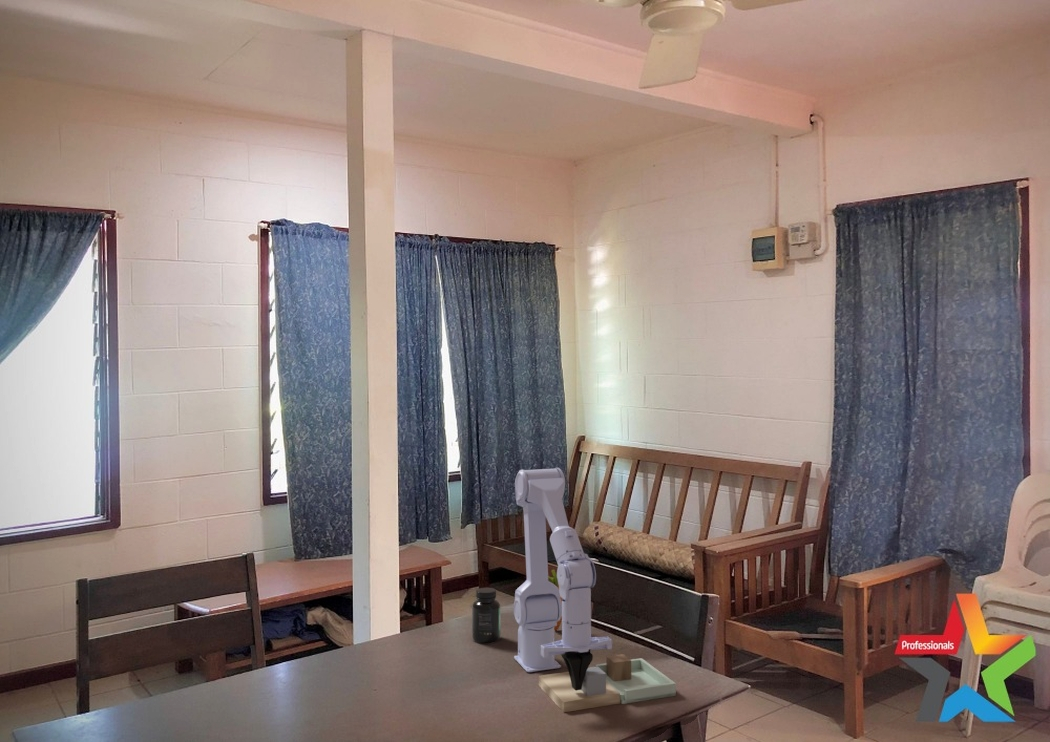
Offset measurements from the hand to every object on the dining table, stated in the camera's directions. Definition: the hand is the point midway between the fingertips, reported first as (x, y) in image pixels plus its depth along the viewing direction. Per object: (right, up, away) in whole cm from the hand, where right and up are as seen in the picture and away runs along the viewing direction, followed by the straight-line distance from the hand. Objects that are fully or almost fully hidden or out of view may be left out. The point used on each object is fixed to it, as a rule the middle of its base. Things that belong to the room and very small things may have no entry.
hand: (576, 688), depth 168 cm
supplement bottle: (-20, -3, +38) cm, 43 cm away
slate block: (+3, -1, +1) cm, 4 cm away
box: (+12, -3, +9) cm, 15 cm away
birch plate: (+1, -3, +5) cm, 5 cm away
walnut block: (+8, 0, +11) cm, 14 cm away
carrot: (-3, -2, +44) cm, 44 cm away
